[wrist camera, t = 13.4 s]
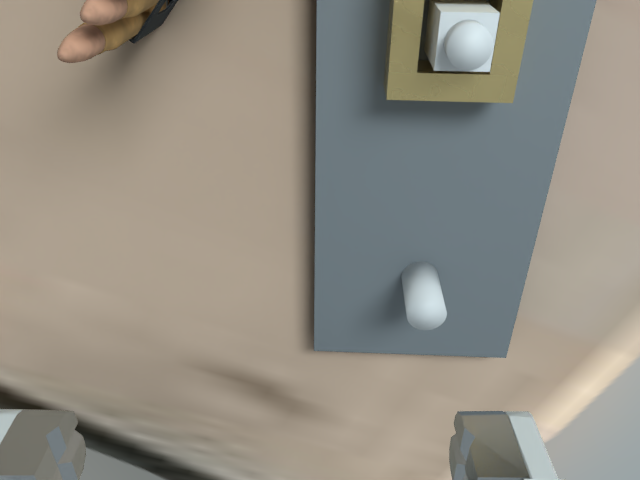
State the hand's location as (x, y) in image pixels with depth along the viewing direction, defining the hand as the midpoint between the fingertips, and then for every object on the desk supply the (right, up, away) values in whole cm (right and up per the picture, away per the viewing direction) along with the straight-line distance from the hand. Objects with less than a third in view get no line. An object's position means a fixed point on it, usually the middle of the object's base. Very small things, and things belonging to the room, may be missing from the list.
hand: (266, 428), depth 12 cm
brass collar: (+8, +15, +17) cm, 24 cm away
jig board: (+8, +10, +22) cm, 25 cm away
